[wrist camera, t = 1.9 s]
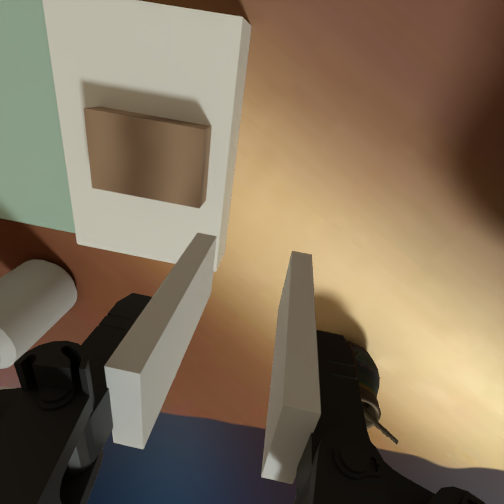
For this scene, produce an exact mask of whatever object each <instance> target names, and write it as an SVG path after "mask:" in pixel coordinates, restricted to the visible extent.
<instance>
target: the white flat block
mask: <svg viewBox="0 0 504 504" xmlns="http://www.w3.org/2000/svg"><path fill="white" fill-rule="evenodd" d="M42 2H43V9H44V16H45V23H46V30H47V37H48V44H49V51H50V58H51V65H52V71H53V78H54V85H55V92H56V99H57V106H58V113H59V120H60V127H61V134H62V141H63V148H64V155H65V162H66V169H67V176H68V183H69V190H70V197H71V204H72V211H73V218H74V225H75V232H76V239H77V244H80V245H85V246H90V247H95V248H100V249H105V250H110V251H115V252H120V253H124V254H129V255H134V256H139V257H144V258H149V259H154V260H159V261H164V262H169V263H174V264H176V263H177V261H178V260H179V258H180V257H181V255H182V254H183V253H184V251H185V250H186V248H187V247H188V245H189V244H190V243H191V241H192V240H193V238H194V237H195V235H196V234H197V232H198V233H203V234H208V235H213V236H217V238H216V248H215V258H214V268H213V271H214V272H216V270H217V268H218V266H219V264H220V262H221V260H222V257H223V255H224V253H225V246H226V238H227V229H228V221H229V212H230V204H231V195H232V187H233V178H234V170H235V162H236V153H237V145H238V136H239V128H240V119H241V111H242V102H243V94H244V85H245V77H246V69H247V60H248V52H249V43H250V35H251V25H250V24H249V23H248V22H247V21H246V20H245V19H244V18H243V17H240V16H234V15H228V14H221V13H215V12H209V11H202V10H196V9H190V8H183V7H177V6H171V5H164V4H158V3H152V2H145V1H139V0H42ZM98 106H100V107H106V108H111V109H117V110H123V111H128V112H134V113H140V114H145V115H151V116H157V117H162V118H168V119H174V120H179V121H185V122H191V123H196V124H202V125H208V126H212V130H211V142H210V155H209V168H208V181H207V194H206V201H205V202H204V203H203V205H202V206H201V207H200V208H194V207H189V206H184V205H179V204H173V203H168V202H163V201H158V200H152V199H147V198H142V197H137V196H131V195H126V194H121V193H116V192H110V191H105V190H100V189H95V188H92V183H91V174H90V164H89V155H88V145H87V136H86V127H85V117H84V108H89V107H98Z"/></svg>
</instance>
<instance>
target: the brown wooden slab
mask: <svg viewBox="0 0 504 504" xmlns="http://www.w3.org/2000/svg"><path fill="white" fill-rule="evenodd" d="M84 117H85V127H86V136H87V145H88V155H89V164H90V174H91V183H92V188H95V189H100V190H105V191H110V192H116V193H121V194H126V195H131V196H137V197H142V198H147V199H152V200H158V201H163V202H168V203H173V204H179V205H184V206H189V207H194V208H200V207H201V206H202V205H203V203H204V202H205V201H206V194H207V181H208V168H209V155H210V142H211V130H212V126H208V125H202V124H196V123H191V122H185V121H179V120H174V119H168V118H162V117H157V116H151V115H145V114H140V113H134V112H128V111H123V110H117V109H111V108H106V107H100V106H98V107H89V108H84Z"/></svg>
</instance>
